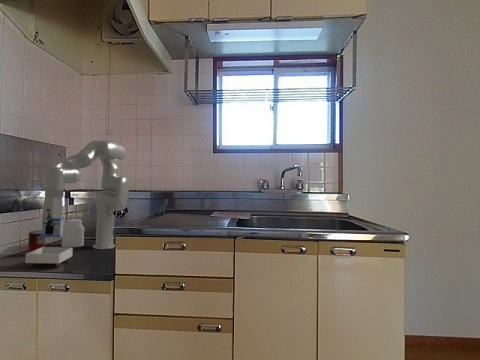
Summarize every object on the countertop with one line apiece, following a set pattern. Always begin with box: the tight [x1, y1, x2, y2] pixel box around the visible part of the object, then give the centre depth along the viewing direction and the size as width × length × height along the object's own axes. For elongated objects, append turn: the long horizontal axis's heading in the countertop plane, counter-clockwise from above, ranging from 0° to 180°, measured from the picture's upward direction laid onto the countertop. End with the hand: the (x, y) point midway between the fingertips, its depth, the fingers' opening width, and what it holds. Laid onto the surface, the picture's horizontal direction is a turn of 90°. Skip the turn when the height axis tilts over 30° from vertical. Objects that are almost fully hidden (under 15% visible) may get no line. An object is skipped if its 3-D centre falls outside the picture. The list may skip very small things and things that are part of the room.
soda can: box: [27, 229, 46, 253], centre depth 162 cm, size 7×7×12 cm
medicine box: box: [41, 217, 65, 238], centre depth 147 cm, size 8×4×9 cm, turn 106°
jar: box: [61, 219, 85, 248], centre depth 188 cm, size 12×10×15 cm
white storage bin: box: [24, 246, 74, 268], centre depth 146 cm, size 14×14×6 cm
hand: (52, 232), depth 147 cm, fingers closed on medicine box, 5 cm apart
